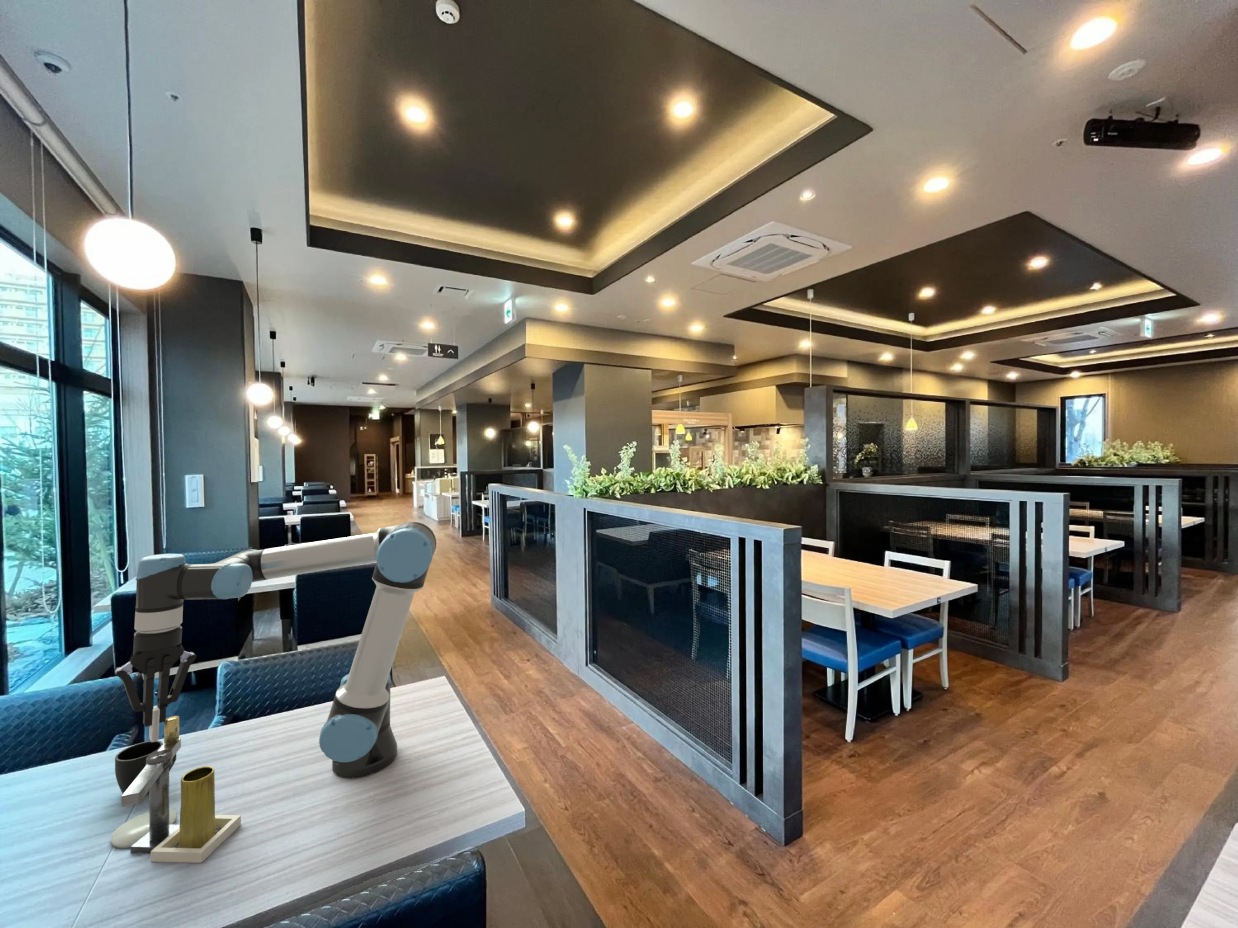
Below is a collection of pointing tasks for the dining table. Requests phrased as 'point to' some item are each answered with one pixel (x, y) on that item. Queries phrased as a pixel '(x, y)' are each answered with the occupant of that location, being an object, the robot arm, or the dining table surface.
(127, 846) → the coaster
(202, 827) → the vase
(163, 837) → the post
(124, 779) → the mug
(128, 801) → the bar
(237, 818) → the cream rectangular frame
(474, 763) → the dining table surface
